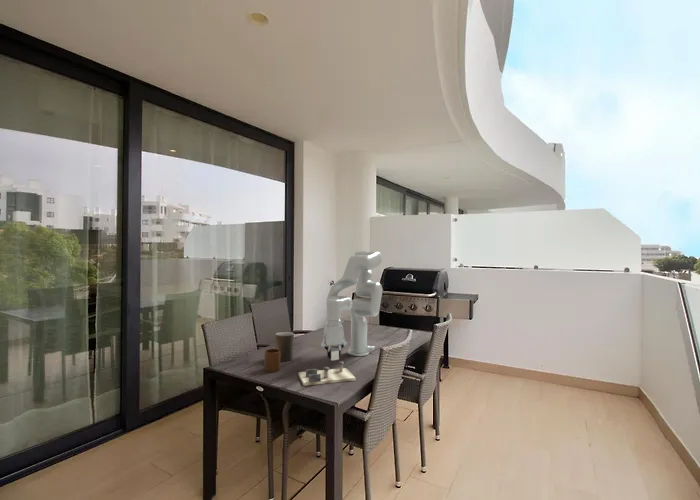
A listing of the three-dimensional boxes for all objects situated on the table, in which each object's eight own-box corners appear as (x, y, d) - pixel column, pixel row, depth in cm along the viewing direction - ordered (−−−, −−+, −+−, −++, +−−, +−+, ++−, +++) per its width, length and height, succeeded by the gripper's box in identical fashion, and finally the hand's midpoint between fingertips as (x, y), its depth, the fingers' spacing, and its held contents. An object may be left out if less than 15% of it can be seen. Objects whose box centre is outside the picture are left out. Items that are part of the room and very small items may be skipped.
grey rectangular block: (336, 357, 179) (336, 345, 178) (338, 359, 175) (339, 348, 175) (329, 357, 177) (329, 346, 177) (331, 360, 173) (331, 348, 173)
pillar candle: (289, 362, 180) (290, 333, 180) (271, 360, 182) (272, 332, 182) (295, 357, 190) (296, 330, 190) (279, 355, 192) (280, 328, 192)
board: (346, 370, 170) (346, 359, 170) (355, 380, 157) (355, 368, 157) (298, 374, 162) (298, 362, 162) (303, 385, 149) (304, 372, 149)
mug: (270, 364, 177) (271, 345, 177) (284, 365, 176) (285, 346, 176) (261, 372, 165) (262, 352, 165) (277, 373, 164) (277, 353, 164)
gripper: (347, 319, 182) (347, 354, 182) (316, 322, 176) (316, 357, 177) (351, 323, 175) (351, 358, 175) (319, 325, 169) (319, 362, 170)
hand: (334, 357), depth 176 cm, fingers closed on grey rectangular block, 4 cm apart
